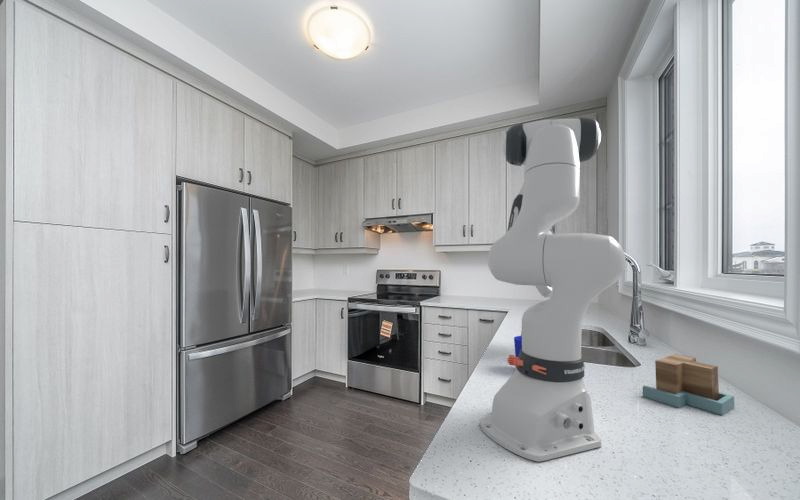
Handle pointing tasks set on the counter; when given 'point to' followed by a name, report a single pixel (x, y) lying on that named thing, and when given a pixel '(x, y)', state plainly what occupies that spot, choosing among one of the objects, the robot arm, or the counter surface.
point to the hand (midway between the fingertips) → (575, 305)
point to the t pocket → (691, 400)
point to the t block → (687, 376)
